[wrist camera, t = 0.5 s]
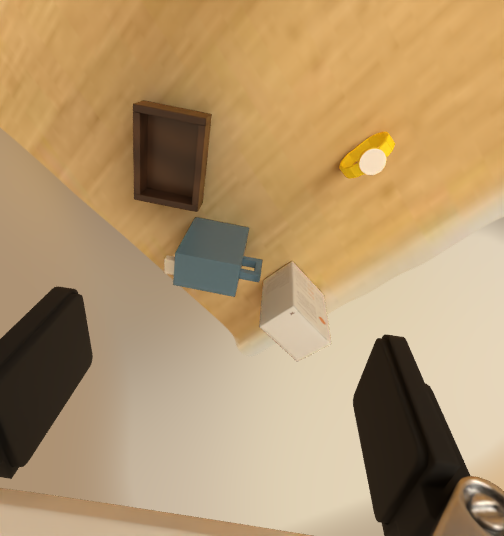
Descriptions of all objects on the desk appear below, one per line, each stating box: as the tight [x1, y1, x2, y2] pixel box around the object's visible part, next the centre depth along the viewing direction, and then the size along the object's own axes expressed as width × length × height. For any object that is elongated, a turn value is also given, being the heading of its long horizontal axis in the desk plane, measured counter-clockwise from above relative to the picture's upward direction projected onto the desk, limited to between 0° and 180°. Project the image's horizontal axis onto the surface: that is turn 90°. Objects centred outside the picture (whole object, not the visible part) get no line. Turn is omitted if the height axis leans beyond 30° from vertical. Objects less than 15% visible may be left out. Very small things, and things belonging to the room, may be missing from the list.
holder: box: [133, 100, 212, 212], centre depth 42 cm, size 11×8×3 cm
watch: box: [339, 132, 395, 179], centre depth 38 cm, size 6×3×6 cm, turn 130°
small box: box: [259, 261, 332, 362], centre depth 48 cm, size 8×6×10 cm
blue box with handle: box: [164, 217, 262, 297], centre depth 44 cm, size 4×11×10 cm, turn 80°
